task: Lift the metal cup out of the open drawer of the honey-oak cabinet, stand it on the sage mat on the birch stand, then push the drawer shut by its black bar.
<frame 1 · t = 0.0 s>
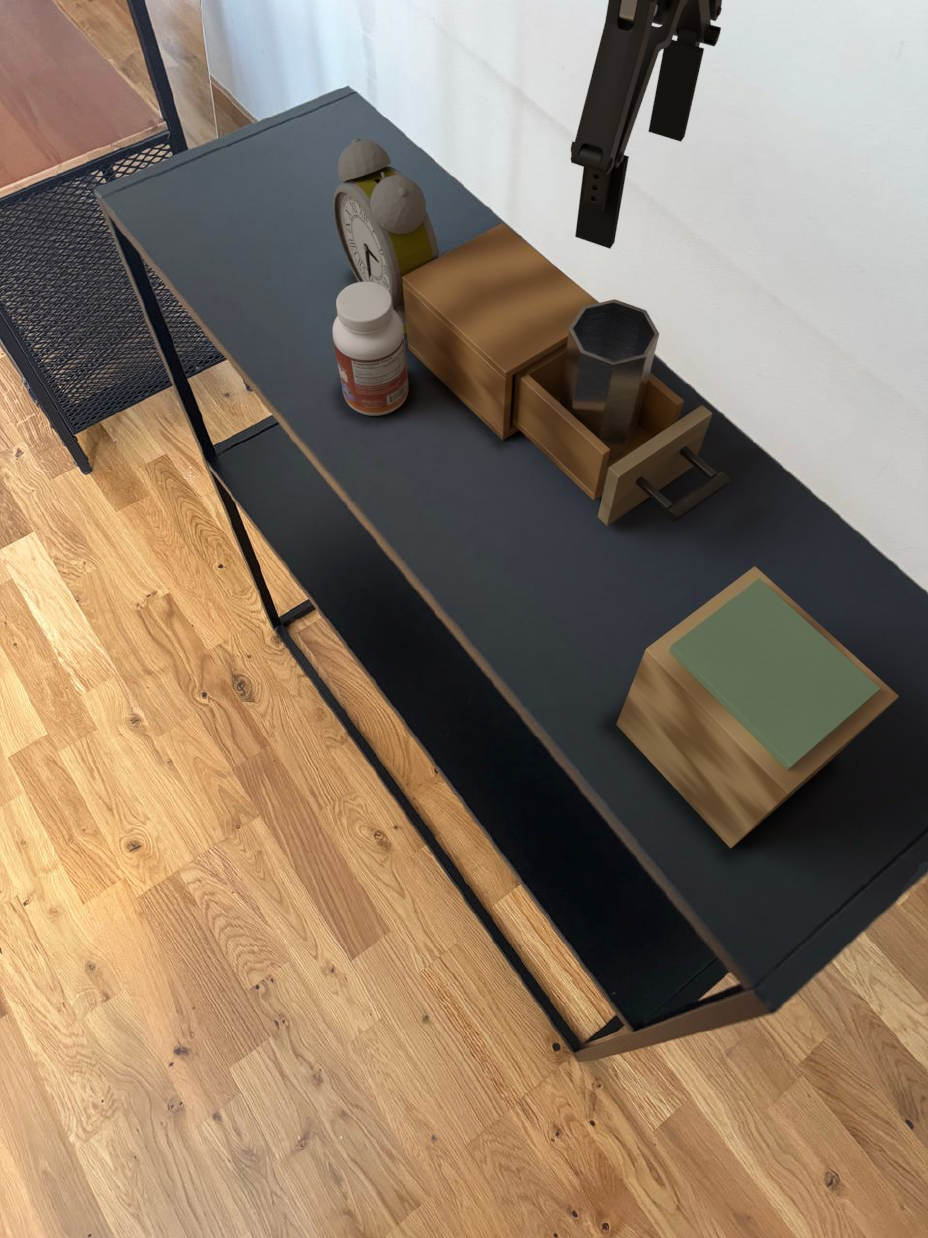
hand: (632, 184, 65), 21 cm above the table, tool pointing down, fingers open, 13 cm apart
mat: (770, 672, 55), resting on stand
alarm clock: (398, 299, 89), on the table
cabinet: (501, 364, 85), on the table
metal cup: (594, 433, 78), point 2 cm above the table, touching drawer
drawer: (623, 438, 75), point 4 cm above the table, slide at 12.0 cm, touching metal cup
stand: (719, 745, 66), on the table
pill bottle: (376, 394, 83), on the table
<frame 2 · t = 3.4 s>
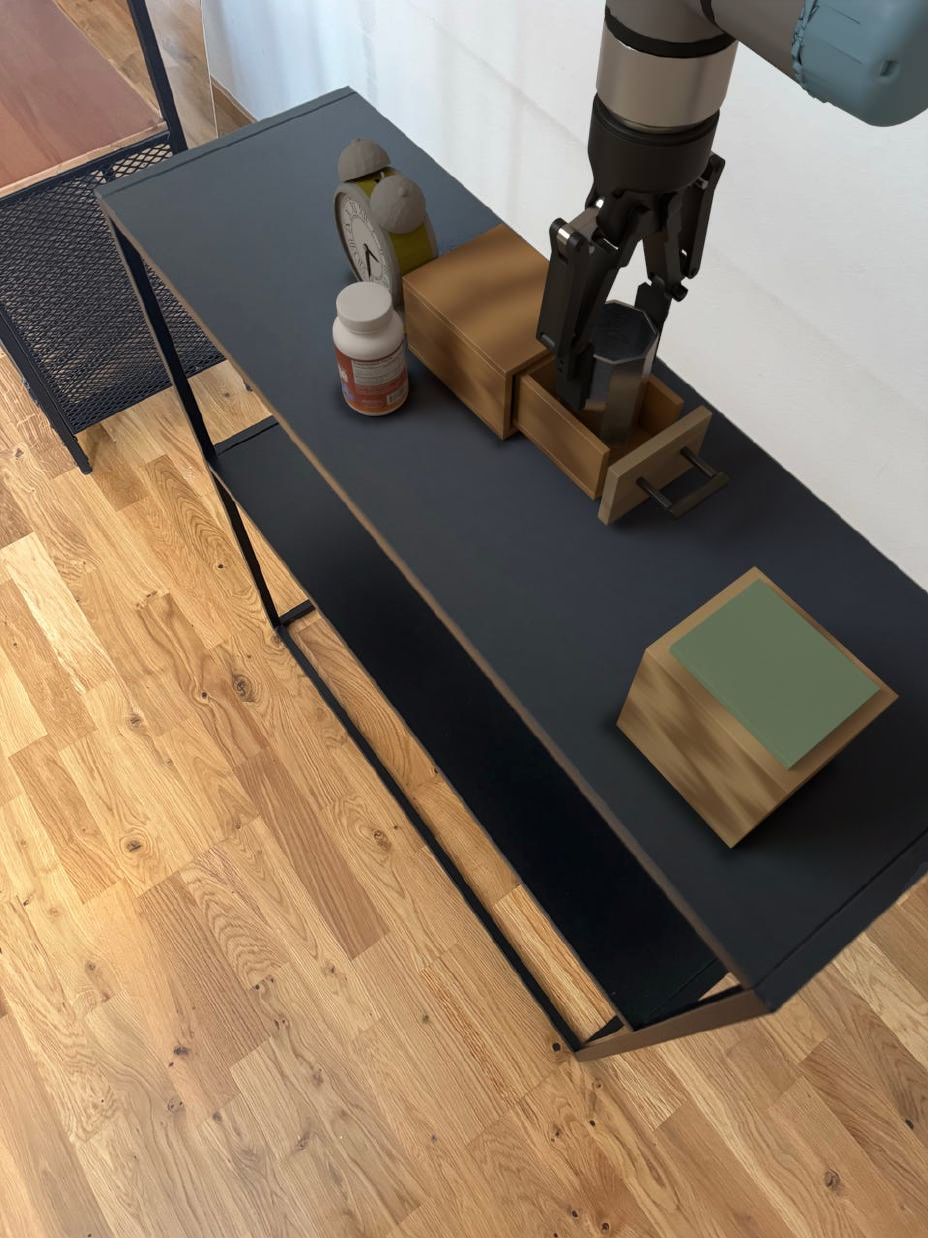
hand: (605, 377, 72), 9 cm above the table, tool pointing down, fingers closed on metal cup, 7 cm apart
metal cup: (594, 433, 78), point 2 cm above the table, touching drawer, gripper
everything else where it was.
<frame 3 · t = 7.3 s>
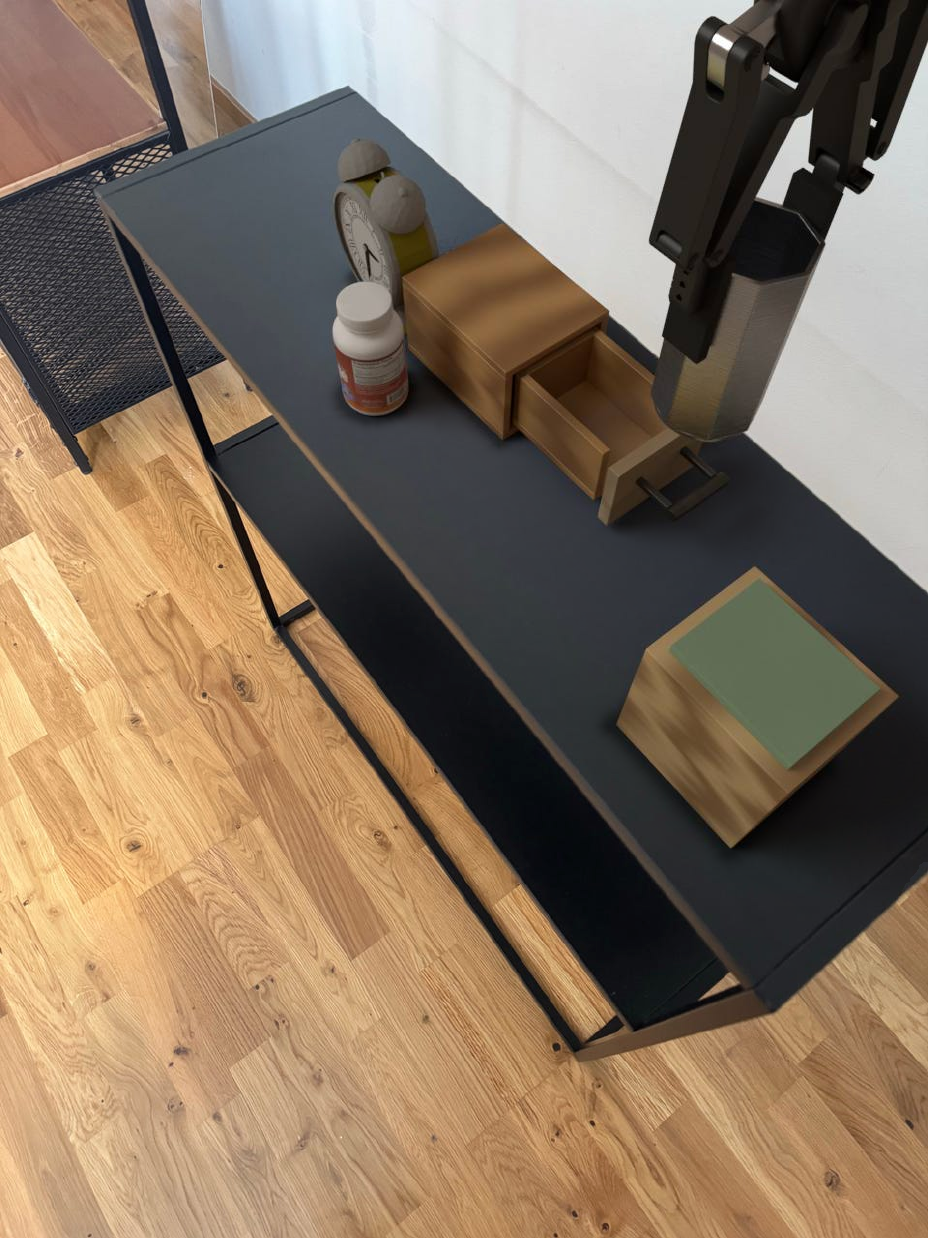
hand: (733, 315, 49), 28 cm above the table, tool pointing down, fingers closed on metal cup, 7 cm apart
metal cup: (704, 402, 56), point 21 cm above the table, touching gripper
drawer: (623, 438, 75), point 4 cm above the table, slide at 12.0 cm
everything else where it was.
when the fingers open (21 cm above the table, at t = 11.1 s): metal cup stays where it is, resting on mat.
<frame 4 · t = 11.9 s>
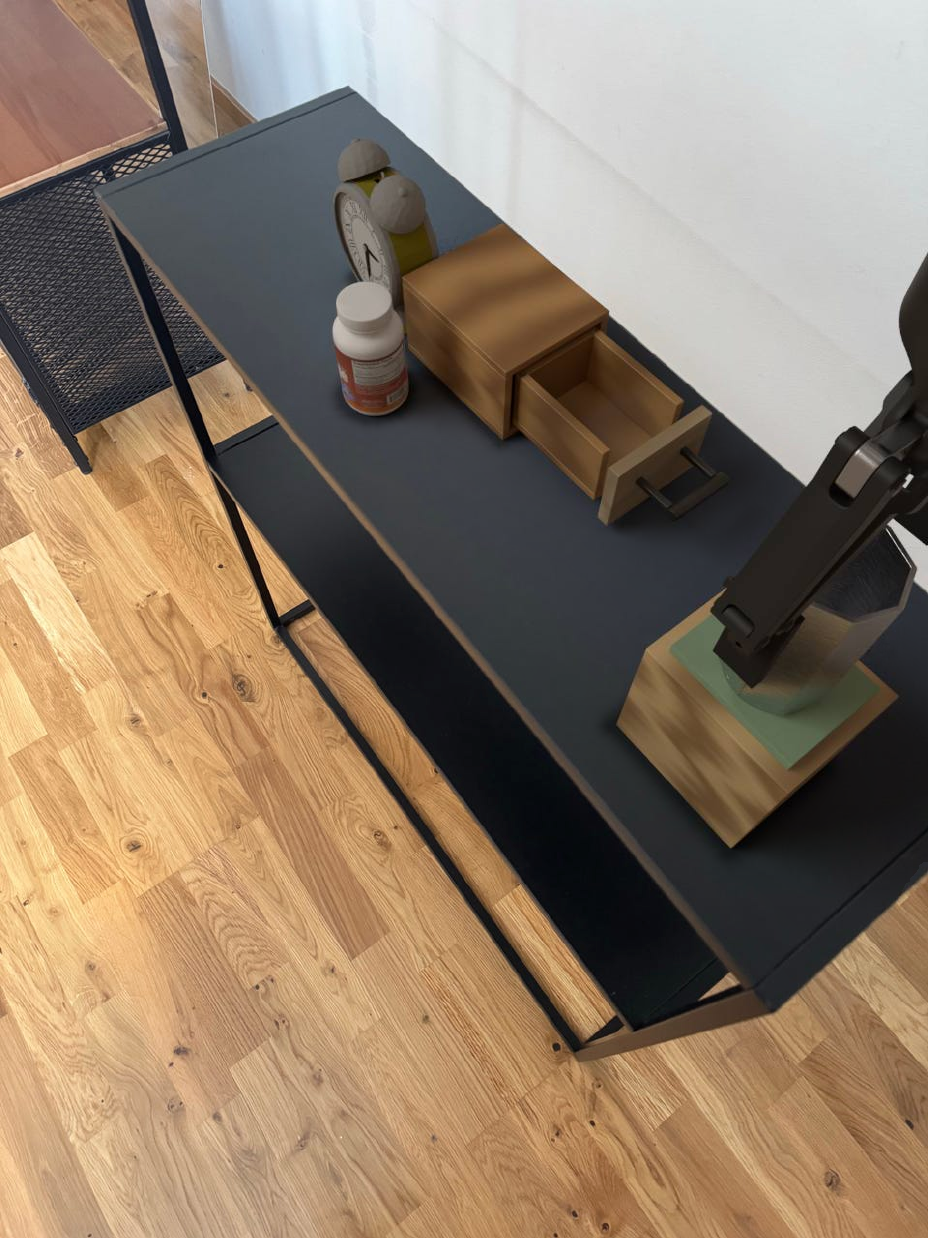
hand: (827, 593, 46), 23 cm above the table, tool pointing down, fingers open, 13 cm apart
metal cup: (773, 666, 54), point 14 cm above the table, touching mat
everything else where it was.
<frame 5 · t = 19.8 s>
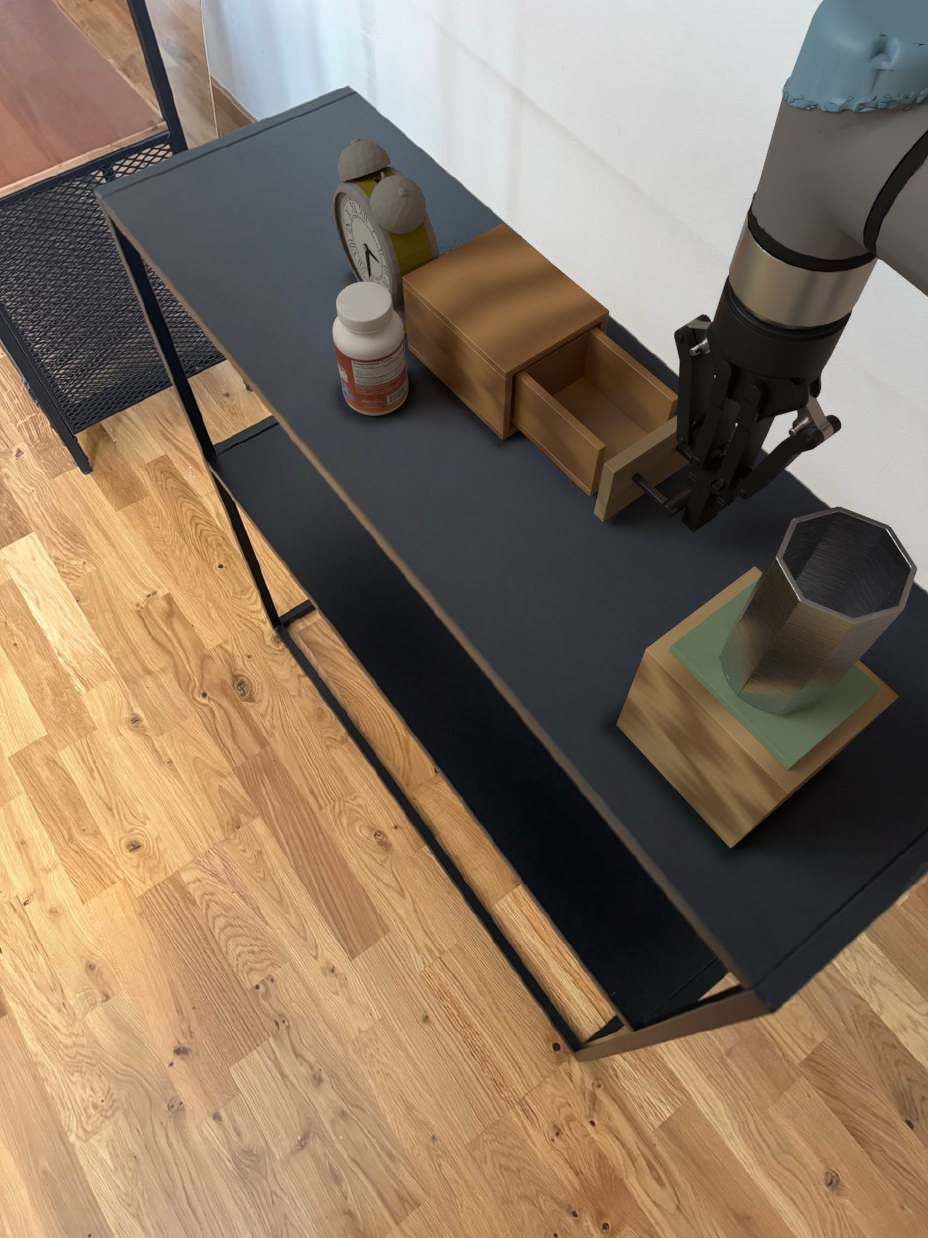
hand: (698, 518, 73), 3 cm above the table, tool pointing down, fingers closed
drawer: (619, 435, 75), point 4 cm above the table, slide at 11.5 cm, touching gripper
everything else where it was.
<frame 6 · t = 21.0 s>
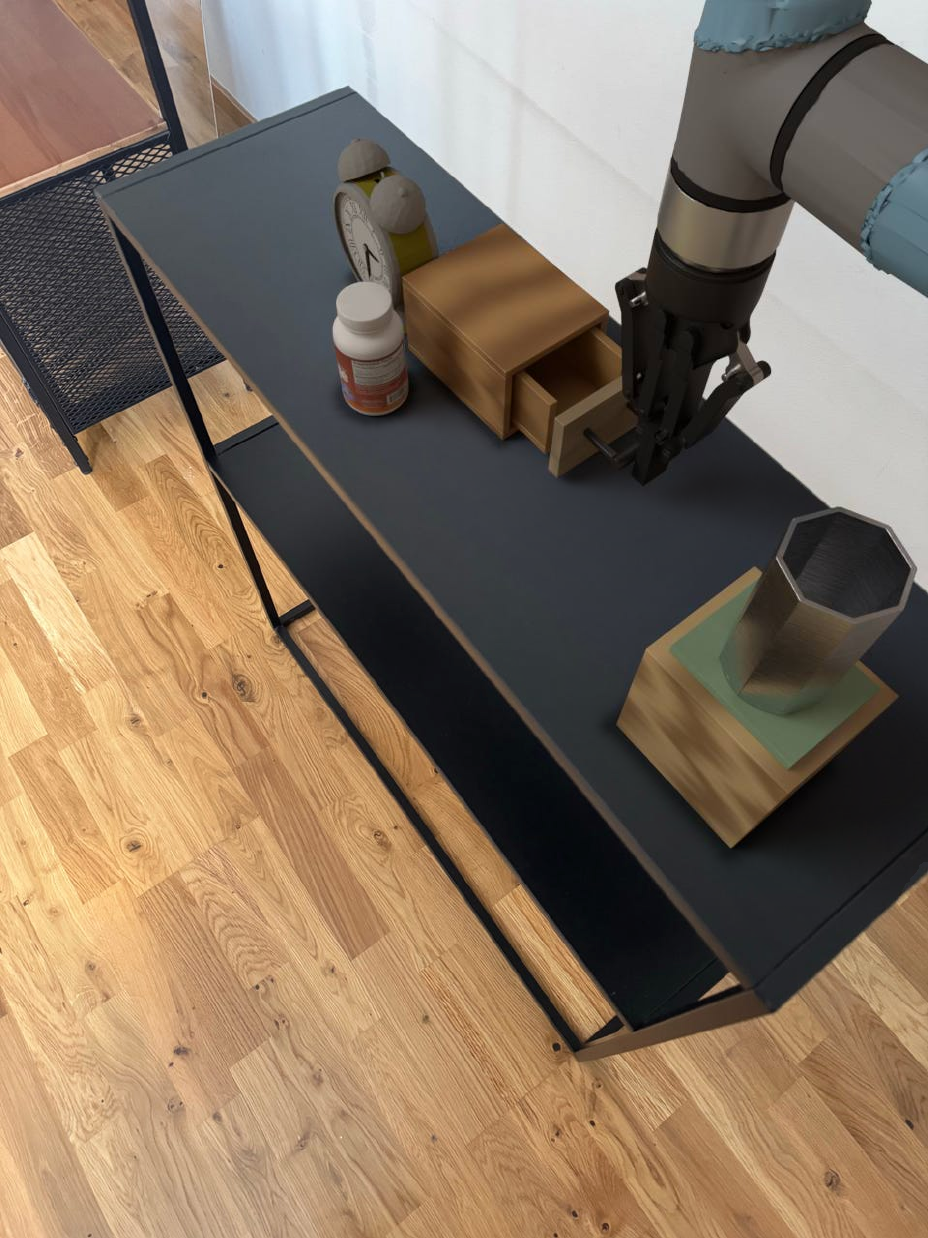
hand: (648, 472, 75), 3 cm above the table, tool pointing down, fingers closed
drawer: (572, 393, 77), point 4 cm above the table, slide at 5.5 cm, touching gripper
everything else where it was.
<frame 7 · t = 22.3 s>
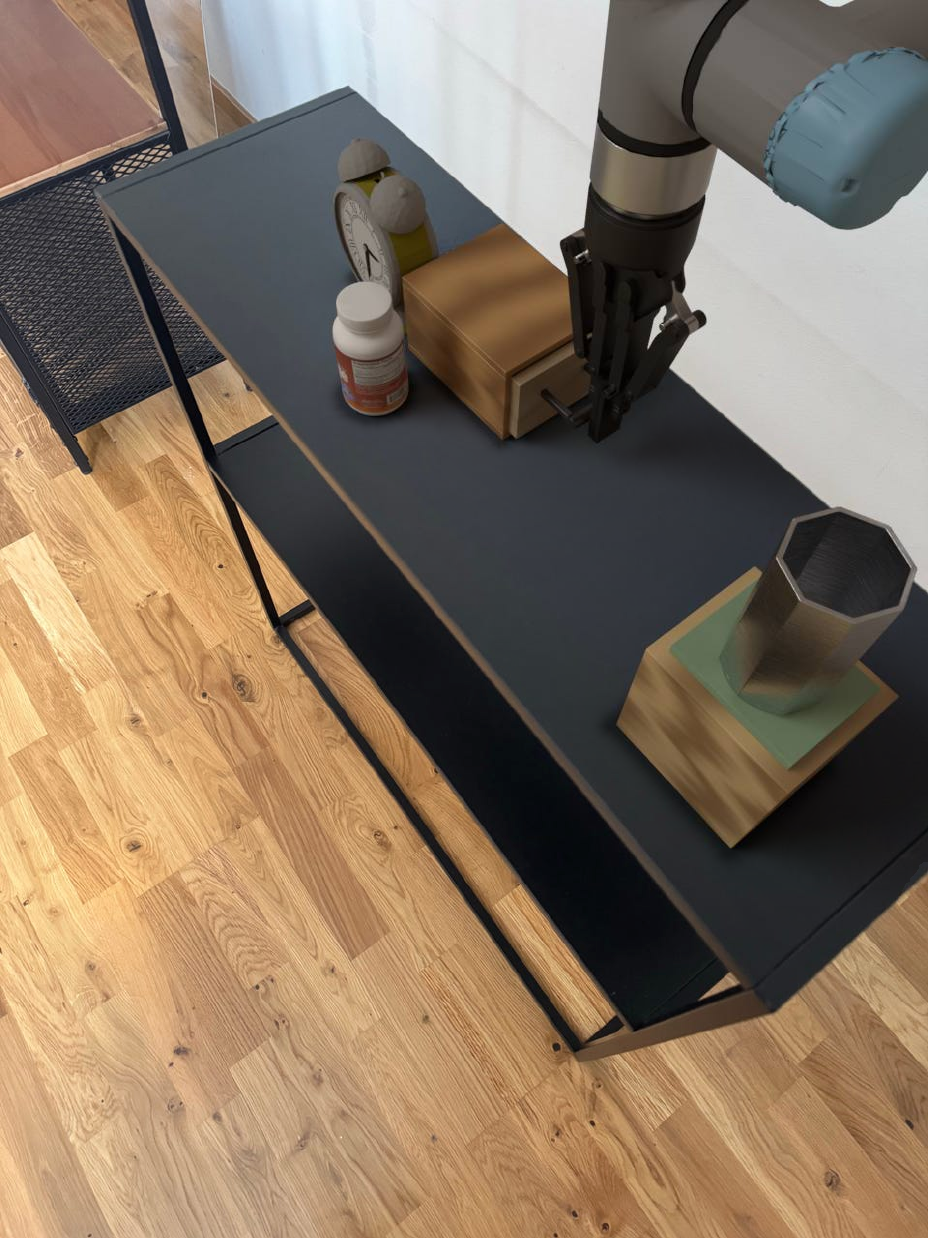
hand: (603, 431, 77), 3 cm above the table, tool pointing down, fingers closed
drawer: (531, 356, 80), point 4 cm above the table, slide at 0.0 cm, touching cabinet, gripper
everything else where it was.
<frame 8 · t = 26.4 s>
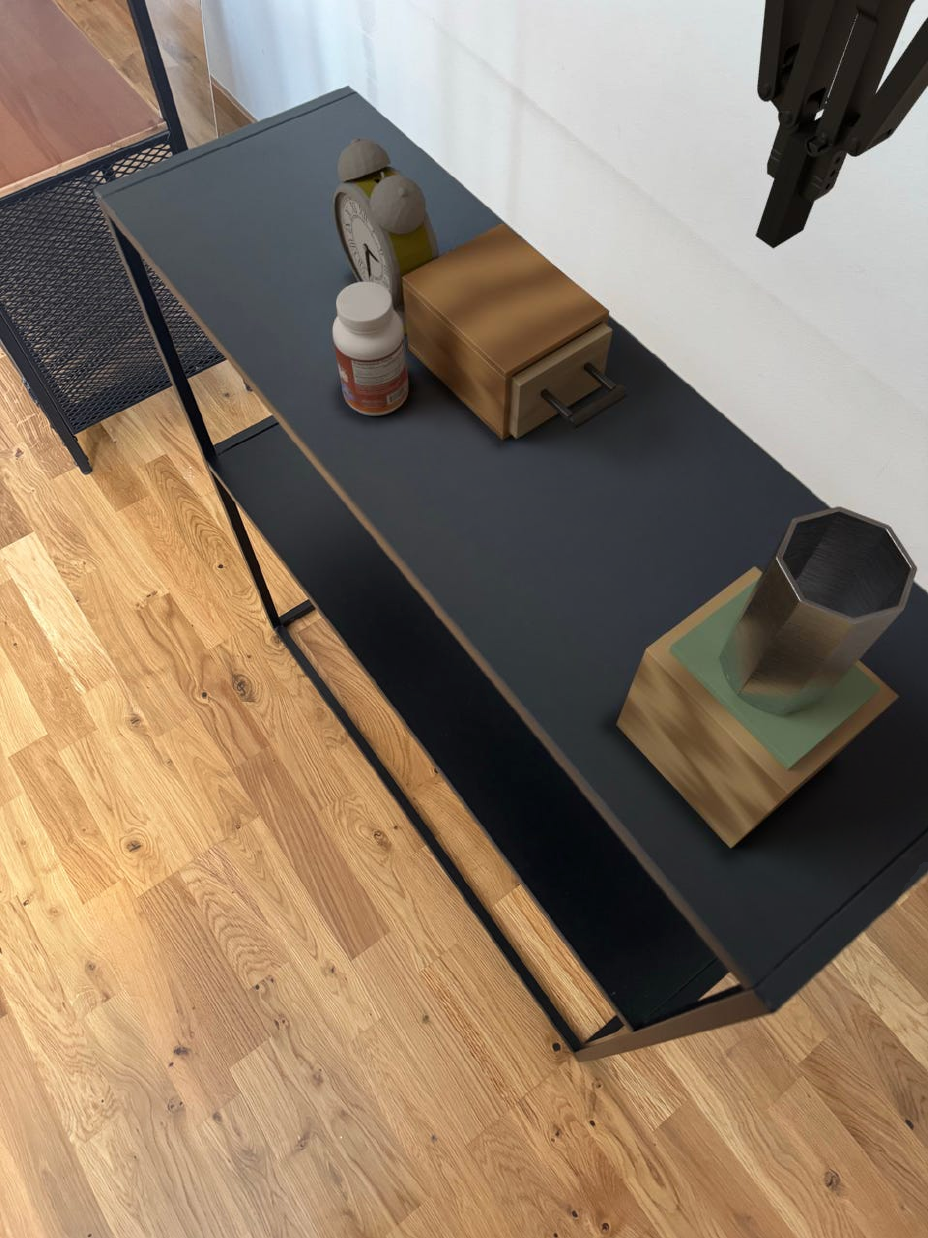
hand: (779, 232, 54), 26 cm above the table, tool pointing down, fingers closed
drawer: (531, 356, 80), point 4 cm above the table, slide at 0.0 cm, touching cabinet
everything else where it was.
at the end: metal cup inside the target area on the mat (0.1 cm from its centre), point 0.8 cm above the mat's base; metal cup tilted 0°; drawer slide at 0.0 cm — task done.
